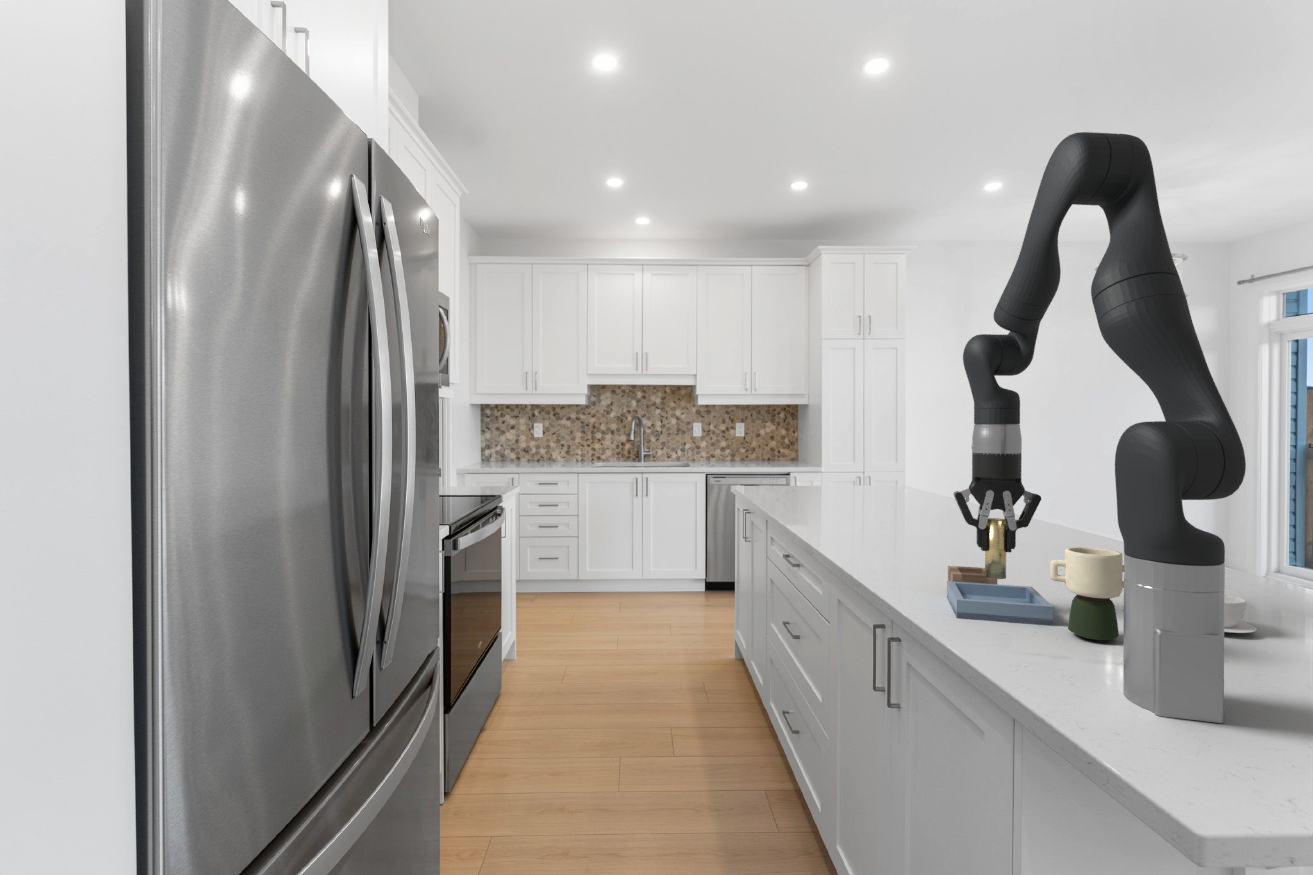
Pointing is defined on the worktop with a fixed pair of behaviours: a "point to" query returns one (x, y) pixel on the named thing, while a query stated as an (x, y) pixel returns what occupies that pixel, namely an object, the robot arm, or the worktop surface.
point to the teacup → (1235, 615)
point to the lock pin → (996, 549)
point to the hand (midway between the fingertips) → (995, 550)
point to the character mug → (1091, 590)
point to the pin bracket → (969, 575)
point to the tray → (999, 603)
